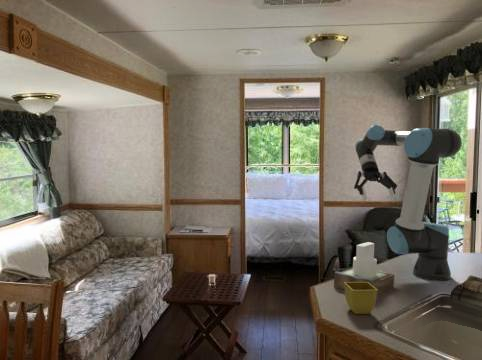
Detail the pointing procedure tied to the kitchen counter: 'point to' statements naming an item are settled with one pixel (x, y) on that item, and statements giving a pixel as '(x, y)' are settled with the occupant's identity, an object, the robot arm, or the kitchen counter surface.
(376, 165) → the robot arm
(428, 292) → the kitchen counter surface
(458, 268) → the kitchen counter surface
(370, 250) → the cylinder with rectangular tab
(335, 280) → the dock
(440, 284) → the kitchen counter surface
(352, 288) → the flower pot
